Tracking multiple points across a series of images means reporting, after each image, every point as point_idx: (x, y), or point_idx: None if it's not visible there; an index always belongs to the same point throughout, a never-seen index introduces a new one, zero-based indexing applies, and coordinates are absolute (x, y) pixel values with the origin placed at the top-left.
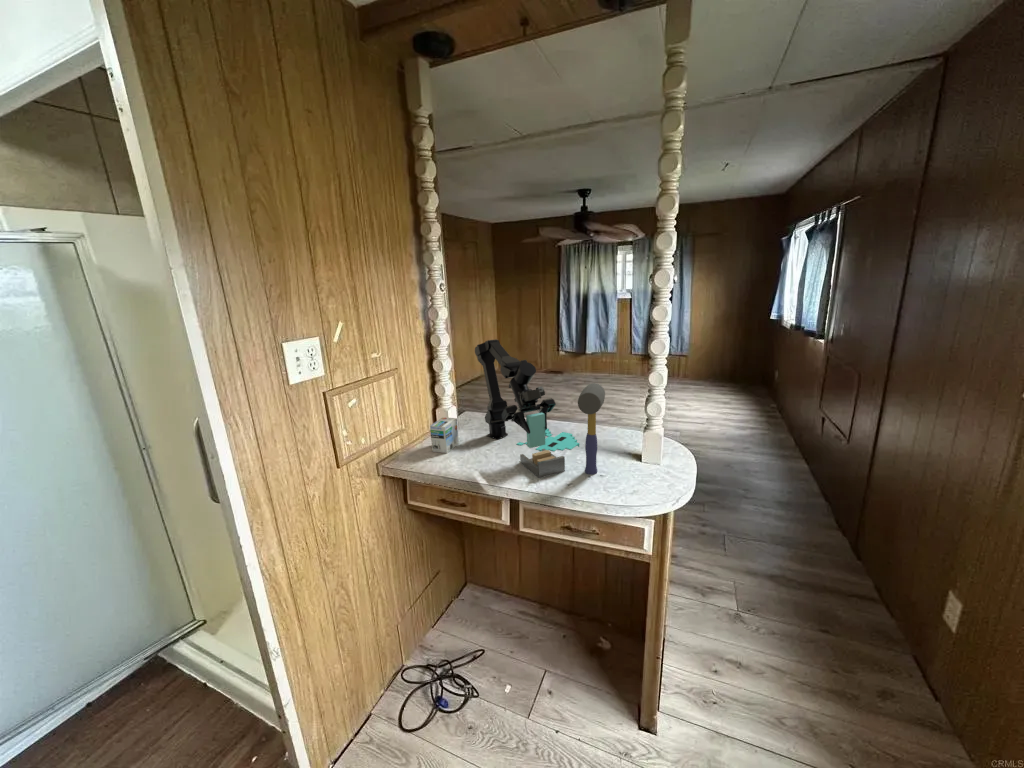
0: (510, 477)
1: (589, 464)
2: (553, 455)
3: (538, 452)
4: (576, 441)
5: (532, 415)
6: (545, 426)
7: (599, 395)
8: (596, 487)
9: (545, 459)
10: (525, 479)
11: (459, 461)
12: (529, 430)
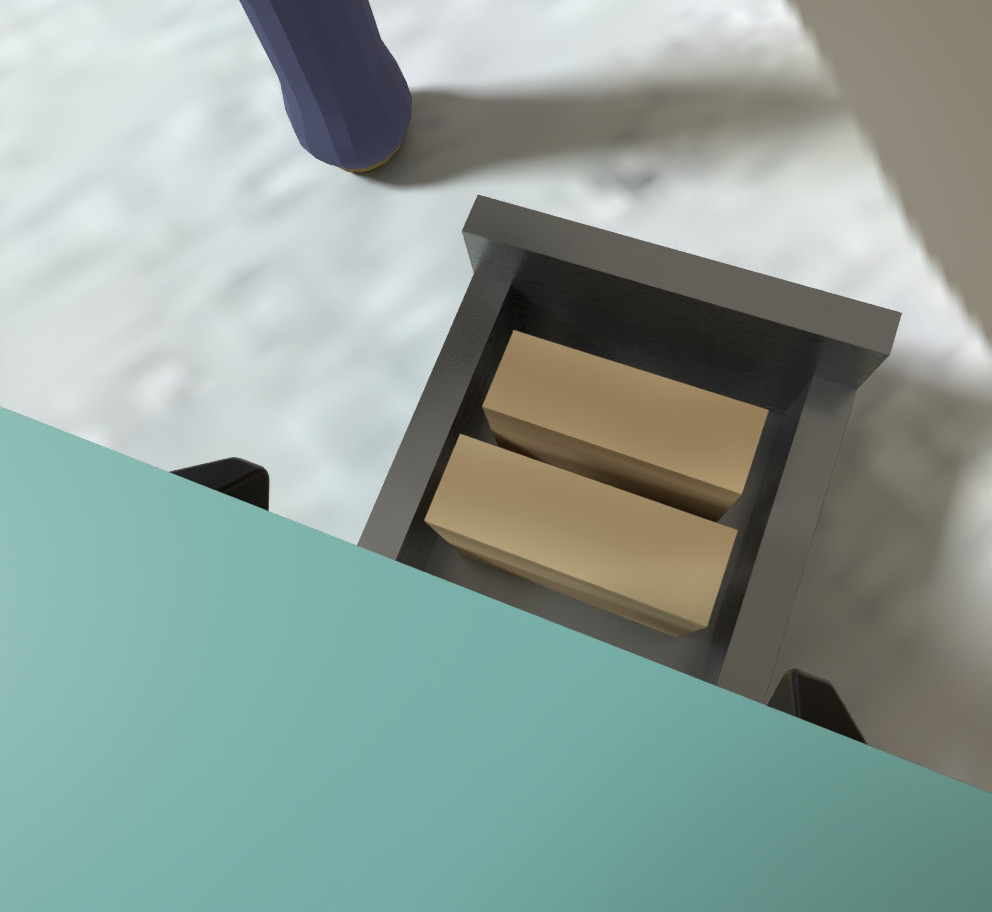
0: (985, 767)
1: (373, 17)
2: (399, 472)
3: (597, 576)
4: None
5: (531, 882)
6: (224, 486)
7: None
8: (516, 7)
9: (642, 408)
10: (876, 579)
11: None
12: (814, 705)
